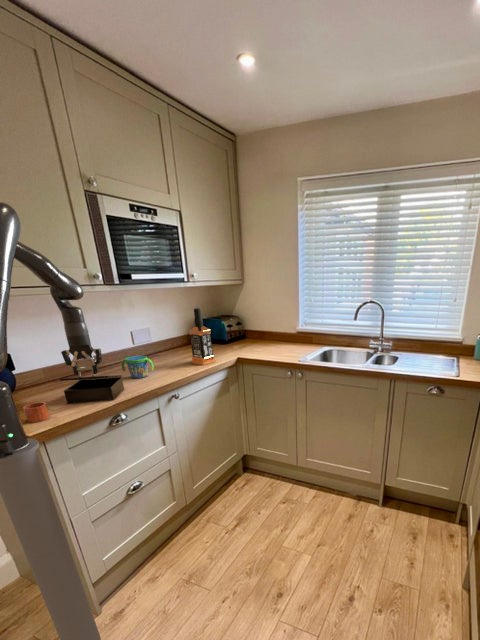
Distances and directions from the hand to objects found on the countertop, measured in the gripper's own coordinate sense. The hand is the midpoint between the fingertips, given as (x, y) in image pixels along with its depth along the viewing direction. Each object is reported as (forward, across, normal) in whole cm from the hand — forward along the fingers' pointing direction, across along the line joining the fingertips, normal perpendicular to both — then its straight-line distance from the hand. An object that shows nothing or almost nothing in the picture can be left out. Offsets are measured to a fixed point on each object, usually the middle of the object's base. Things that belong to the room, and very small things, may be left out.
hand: (87, 374), depth 138 cm
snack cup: (+11, +11, +33) cm, 36 cm away
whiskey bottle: (+10, +42, +56) cm, 71 cm away
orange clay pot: (+12, -12, -18) cm, 25 cm away
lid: (+3, 0, +5) cm, 6 cm away
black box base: (+11, 0, +5) cm, 12 cm away
